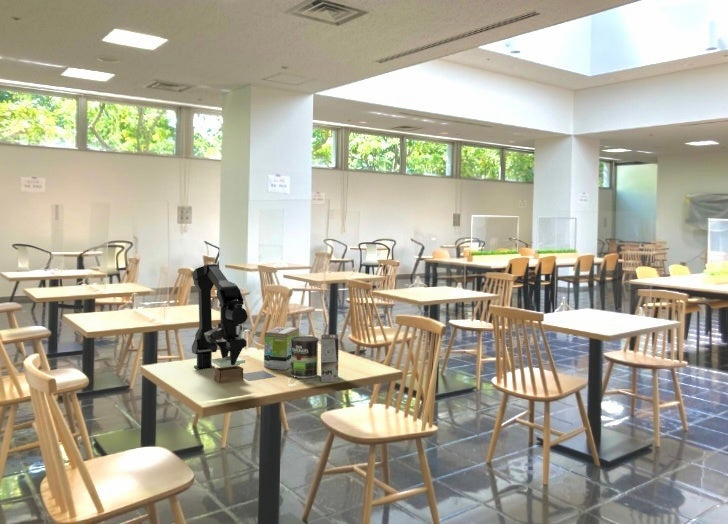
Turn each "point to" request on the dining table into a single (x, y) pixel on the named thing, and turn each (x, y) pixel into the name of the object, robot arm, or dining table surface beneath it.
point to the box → (228, 374)
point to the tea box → (279, 347)
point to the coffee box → (329, 358)
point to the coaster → (257, 375)
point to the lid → (227, 362)
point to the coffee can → (304, 356)
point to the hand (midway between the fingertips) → (228, 362)
